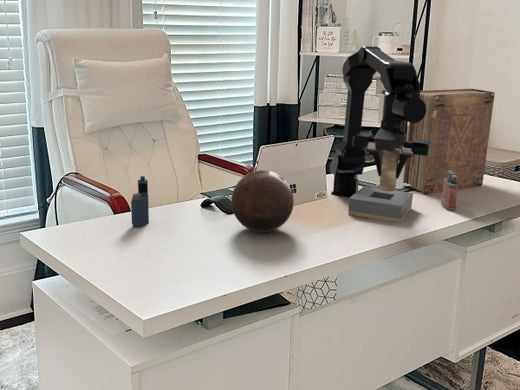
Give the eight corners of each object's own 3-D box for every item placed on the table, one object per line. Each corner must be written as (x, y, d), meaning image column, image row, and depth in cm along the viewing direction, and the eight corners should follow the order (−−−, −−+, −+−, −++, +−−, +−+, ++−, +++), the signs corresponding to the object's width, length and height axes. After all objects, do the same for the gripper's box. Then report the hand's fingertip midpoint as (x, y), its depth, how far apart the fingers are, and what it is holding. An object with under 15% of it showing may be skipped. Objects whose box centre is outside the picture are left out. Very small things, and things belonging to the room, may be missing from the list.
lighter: (458, 211, 170) (462, 176, 167) (446, 211, 170) (450, 176, 167) (450, 202, 178) (454, 169, 175) (438, 202, 178) (442, 168, 175)
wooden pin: (377, 189, 154) (381, 150, 151) (381, 185, 157) (385, 147, 154) (393, 192, 152) (397, 152, 149) (397, 188, 156) (401, 149, 153)
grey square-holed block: (348, 214, 165) (349, 198, 164) (362, 201, 177) (363, 186, 176) (400, 222, 159) (401, 206, 158) (411, 208, 172) (412, 193, 170)
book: (422, 194, 186) (433, 94, 177) (402, 186, 193) (411, 91, 185) (482, 185, 197) (495, 91, 189) (461, 179, 205) (472, 88, 197)
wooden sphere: (299, 239, 145) (302, 178, 141) (236, 242, 142) (237, 180, 138) (283, 219, 159) (286, 163, 155) (226, 221, 156) (227, 164, 152)
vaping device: (151, 222, 154) (150, 176, 151) (138, 228, 150) (137, 181, 146) (142, 220, 155) (141, 174, 152) (129, 226, 151) (128, 179, 147)
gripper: (347, 116, 146) (342, 179, 151) (427, 124, 138) (419, 191, 143) (360, 109, 156) (356, 169, 160) (435, 117, 148) (428, 179, 153)
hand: (388, 177), depth 154 cm, fingers closed on wooden pin, 4 cm apart
